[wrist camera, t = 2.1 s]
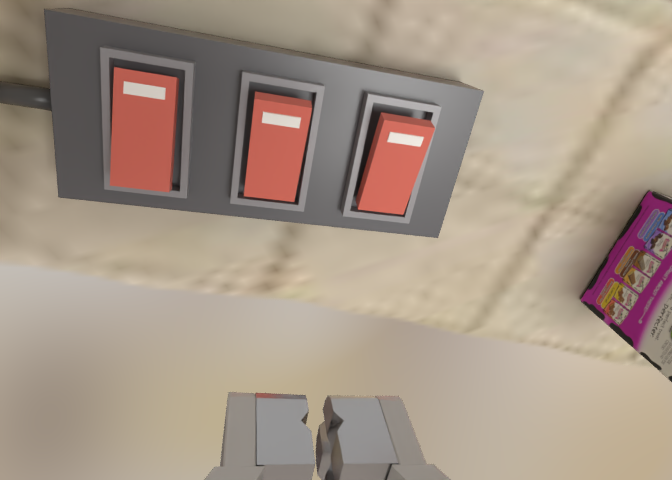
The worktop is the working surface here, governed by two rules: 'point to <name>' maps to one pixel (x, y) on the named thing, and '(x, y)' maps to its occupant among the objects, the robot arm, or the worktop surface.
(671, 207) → the candy bar box
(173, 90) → the rocker
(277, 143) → the rocker
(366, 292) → the worktop surface
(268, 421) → the robot arm
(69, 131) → the rocker switch panel
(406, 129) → the rocker
